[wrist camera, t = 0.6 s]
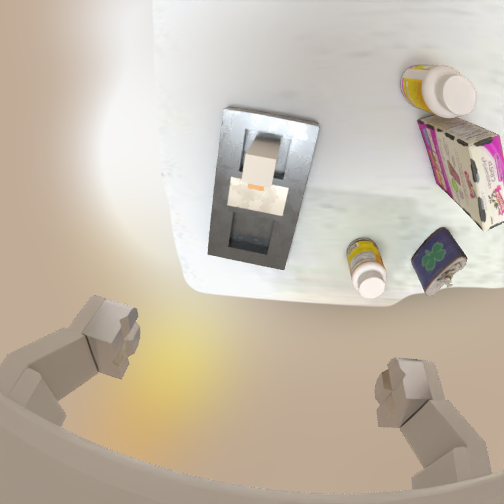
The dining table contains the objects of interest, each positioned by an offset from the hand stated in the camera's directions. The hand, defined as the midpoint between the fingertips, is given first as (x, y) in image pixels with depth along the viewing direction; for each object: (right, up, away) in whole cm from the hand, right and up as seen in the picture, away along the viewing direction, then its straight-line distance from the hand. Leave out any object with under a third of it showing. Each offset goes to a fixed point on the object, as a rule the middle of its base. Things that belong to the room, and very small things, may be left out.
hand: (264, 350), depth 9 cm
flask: (+31, +4, +40) cm, 51 cm away
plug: (+2, +18, +35) cm, 39 cm away
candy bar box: (+28, +19, +31) cm, 46 cm away
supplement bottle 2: (+24, +27, +27) cm, 45 cm away
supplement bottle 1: (+18, +3, +43) cm, 47 cm away
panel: (+1, +13, +39) cm, 41 cm away
